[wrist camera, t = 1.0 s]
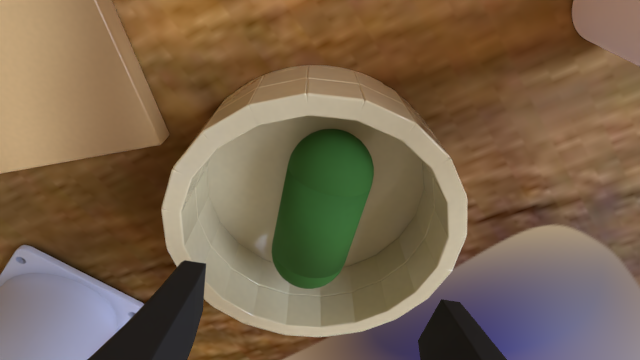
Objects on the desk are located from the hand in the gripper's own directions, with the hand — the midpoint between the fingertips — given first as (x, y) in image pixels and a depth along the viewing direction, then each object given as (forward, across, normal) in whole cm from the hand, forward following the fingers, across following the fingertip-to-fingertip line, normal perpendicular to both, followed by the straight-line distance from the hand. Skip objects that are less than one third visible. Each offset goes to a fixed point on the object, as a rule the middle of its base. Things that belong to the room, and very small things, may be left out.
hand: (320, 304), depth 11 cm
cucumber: (+6, 0, +1) cm, 6 cm away
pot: (+9, 0, +1) cm, 9 cm away
